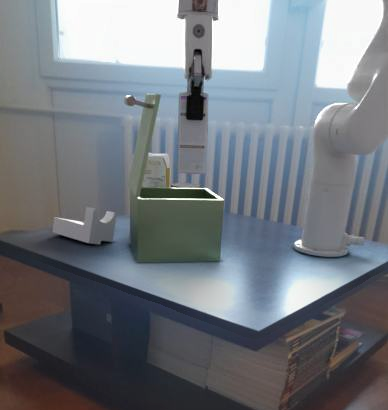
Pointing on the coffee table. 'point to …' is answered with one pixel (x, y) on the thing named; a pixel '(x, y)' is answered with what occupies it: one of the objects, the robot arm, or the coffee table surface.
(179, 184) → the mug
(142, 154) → the bin lid
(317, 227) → the robot arm
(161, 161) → the juice carton
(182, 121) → the syrup box
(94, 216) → the bracket
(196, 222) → the trash bin
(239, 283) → the coffee table surface
